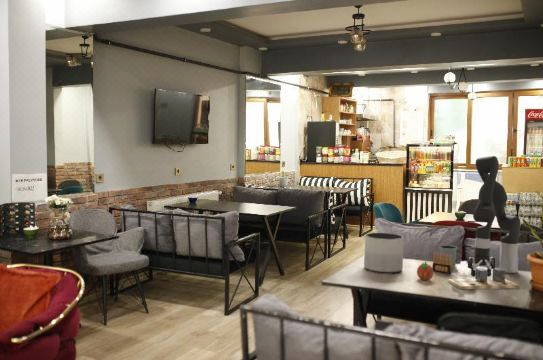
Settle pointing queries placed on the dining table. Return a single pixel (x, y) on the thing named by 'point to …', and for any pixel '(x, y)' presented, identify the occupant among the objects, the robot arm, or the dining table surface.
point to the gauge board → (494, 283)
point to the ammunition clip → (441, 263)
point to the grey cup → (449, 250)
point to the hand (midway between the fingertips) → (480, 276)
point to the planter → (383, 252)
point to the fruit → (425, 271)
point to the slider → (481, 275)
